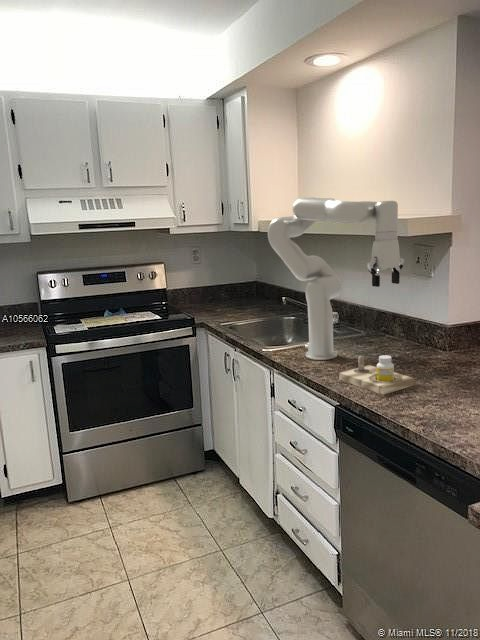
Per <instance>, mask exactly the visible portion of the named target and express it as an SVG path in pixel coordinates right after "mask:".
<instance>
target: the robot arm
mask: <svg viewBox="0 0 480 640" xmlns="http://www.w3.org/2000/svg"><path fill="white" fill-rule="evenodd" d="M398 209H399V204H398V202H397V201H395V200H380V201H369V200H367V201H365V200H363V201H349V200H347V201H346V200H336V199H335V198H331V197H330V198H329V197H328V198H327V197H313V196H312V197H307V196H306V197H305V196H304V197H301V198H297V200H295V202H294V203H293V205H292V213H293V215H292V216H281V217H277V218H274V219H273V220H272V221H271V222H270V223H269V225H268V228H267V239H268V242H269V243H268V244H270V246H271V248H272V249H273V251H274V252H275V254H277V256H278V257H279V258H280V259H281V261H282V262H283V263H284V265H285V266H286V267H287V269H288V270H290V272H291V273H292V275H293V276H294V277H295V278H296V279H297V280H299V281H301V282H302V281H303V282H305V281H309V282H308V283H307V284H306V287H305V291H304V293H305V299H306V303H307V313H308V314H307V316H308V342H307V343H306V344H305V345H304V348H305V349H307V352H305V357H306V358H307V359H310V360H315V361H316V360H317V361H326V360H327V361H328V360H332V359H335V358H337V357H338V352H337V351H335V350H334V325H333V324H334V319H333V318H334V317H333V307H332V304H331V300H333V299H335V298H337V297H339V295H340V294H342V293H341V292H342V290H343V286H342V285H343V284H342V281H341V280H340V278H339V276H338V275H337V274H336V273H335V271H333V269H332V268H331V267H330V266H329V264H328V262H327V261H325V259H323V258H322V257H320V256H318V255H314V254H313V255H312V254H311V255H307V254H306V253H305V252H304V251H303V250H302V249H301V247H300V246H299V245H298V244H297V243H295V242H294V241H293V240H292V239H291V238H297V237H300V236H301V235H304V234H305V232H306V231H307V230H309V229H310V228H311V227H312V226H313V225H314V224H315V223H316V222H330V223H332V222H334V223H344V224H345V223H346V224H370V223H374V222H375V223H374V224H375V226H374V227H375V228H374V229H375V231H374V233H375V234H374V235H375V236H374V237H375V241H373V244H372V248H371V255H370V256H371V258H370V261H368V262H367V263H366V266H367V269H368V272H369V274H370V275H371V285H372V287H375V288H376V287H377V288H379V287H380V286H381V282H380V281H381V276H380V273H381V271H383V270H390V269H391V283H392V284H397V285H398V284H400V275H401V274H400V273H401V272H402V268H403V267H404V264H405V259H404V258H402V257H401V256H400V254H401V253H400V245H399V240H398V236H397V233H398V229H399V228H398V224H399V223H398V222H399V220H398V219H399V218H398V217H399V216H398V213H399V210H398ZM397 228H398V229H397Z"/></svg>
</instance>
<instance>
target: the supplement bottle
mask: <svg viewBox="0 0 480 640" xmlns="http://www.w3.org/2000/svg"><path fill="white" fill-rule="evenodd" d="M392 361H393V360H392V356H391V355H386V354H385V355H384V354H383V355H379V356H378V363H377V364H376V367H377V380H378V381H384V382H390V381H394V372H395V365H394V363H393V362H392Z"/></svg>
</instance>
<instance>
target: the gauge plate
mask: <svg viewBox="0 0 480 640" xmlns="http://www.w3.org/2000/svg"><path fill="white" fill-rule="evenodd" d="M357 359H358V360H357V362H358V363H357V364H358V367H356V368H352V369H347V370H344V371H341V372H338V381H341V380H342V382H345V383H348V384H351V385H354V386H357V387H359V388H362V389H364V390H368V391H371V392H374V393H377V394H380V395H382V396H383V395H386V394H387V395H388V394H390V393H394V392H397V391H400V390H403V389H406V388H410V387H413V386H414V384H415V378H414V377H412V376H408V375H404V374H401V373H399V372H395V371H394V381H390V382H384V381H378V380H377V366H375V365H374V366H373V365H371V364H367V365H365V356H363V355H360V356H358V357H357Z"/></svg>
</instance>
